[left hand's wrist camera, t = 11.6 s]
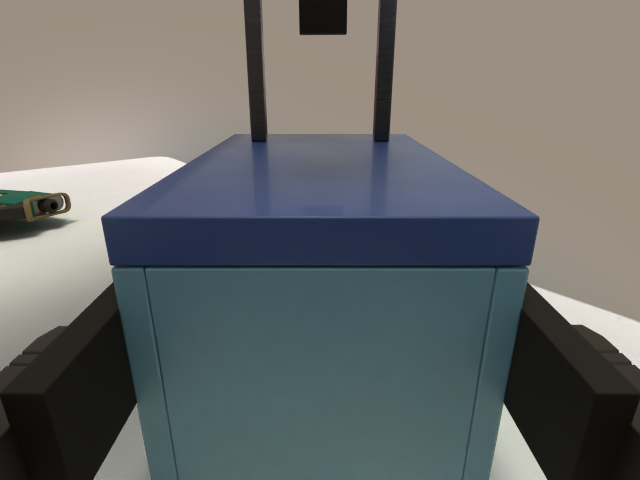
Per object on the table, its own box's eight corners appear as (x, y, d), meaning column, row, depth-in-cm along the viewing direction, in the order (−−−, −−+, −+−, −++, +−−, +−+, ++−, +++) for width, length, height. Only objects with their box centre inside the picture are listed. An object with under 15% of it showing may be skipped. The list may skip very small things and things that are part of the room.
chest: (243, 304, 25) (232, 159, 22) (396, 304, 25) (407, 158, 22) (161, 540, 12) (109, 268, 9) (478, 540, 12) (531, 268, 9)
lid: (235, 155, 23) (222, -33, 20) (404, 155, 23) (417, -33, 20) (109, 266, 9) (1, -292, 6) (532, 266, 9) (639, -290, 6)
